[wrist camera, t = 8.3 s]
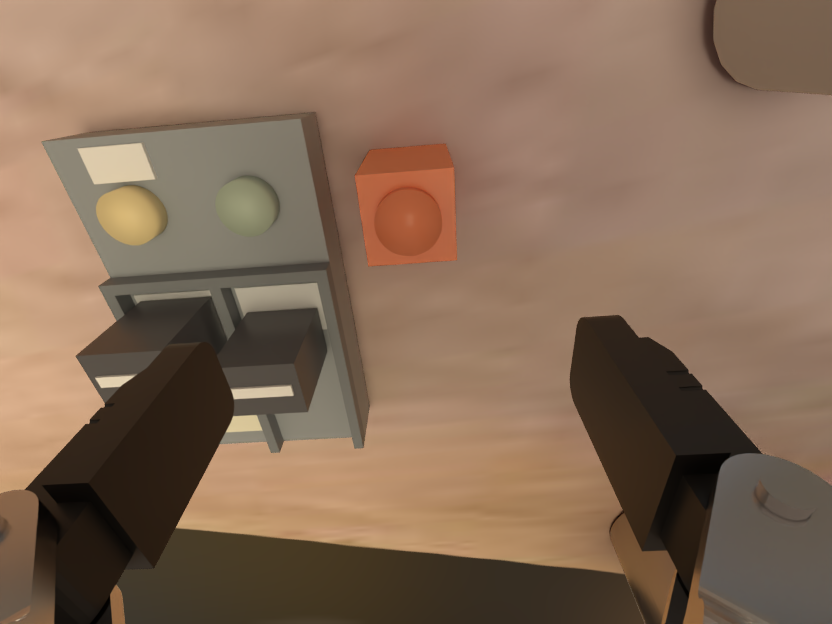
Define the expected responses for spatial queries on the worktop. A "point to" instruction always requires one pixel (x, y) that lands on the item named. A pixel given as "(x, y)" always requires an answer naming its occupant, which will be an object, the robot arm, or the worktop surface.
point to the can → (776, 43)
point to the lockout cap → (408, 205)
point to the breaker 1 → (148, 339)
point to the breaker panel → (225, 241)
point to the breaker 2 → (274, 361)
